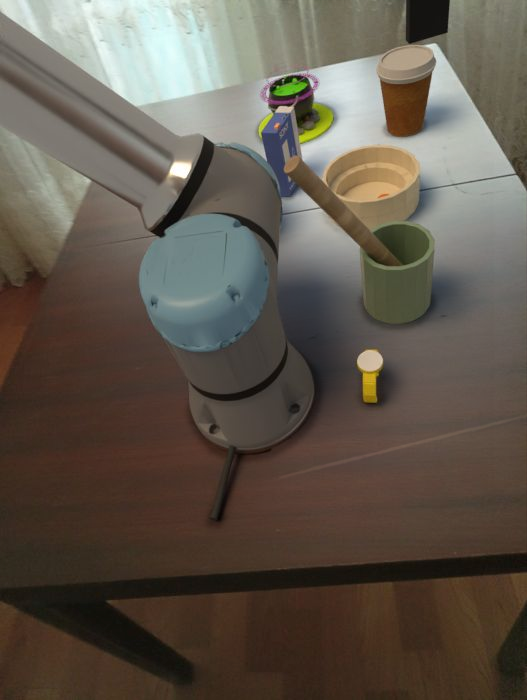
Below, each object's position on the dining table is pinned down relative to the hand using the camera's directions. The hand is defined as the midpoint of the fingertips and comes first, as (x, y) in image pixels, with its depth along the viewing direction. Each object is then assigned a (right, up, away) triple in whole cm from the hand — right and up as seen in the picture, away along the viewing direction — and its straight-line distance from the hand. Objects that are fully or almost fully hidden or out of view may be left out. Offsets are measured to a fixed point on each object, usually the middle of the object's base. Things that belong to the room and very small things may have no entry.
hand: (394, 6), depth 39 cm
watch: (+3, -32, +20) cm, 37 cm away
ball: (+8, -5, +36) cm, 37 cm away
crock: (+7, -21, +27) cm, 35 cm away
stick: (+10, -19, +26) cm, 34 cm away
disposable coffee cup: (+15, +13, +51) cm, 55 cm away
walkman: (-6, +2, +48) cm, 49 cm away
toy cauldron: (-4, +18, +60) cm, 63 cm away
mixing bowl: (+7, -4, +40) cm, 41 cm away
